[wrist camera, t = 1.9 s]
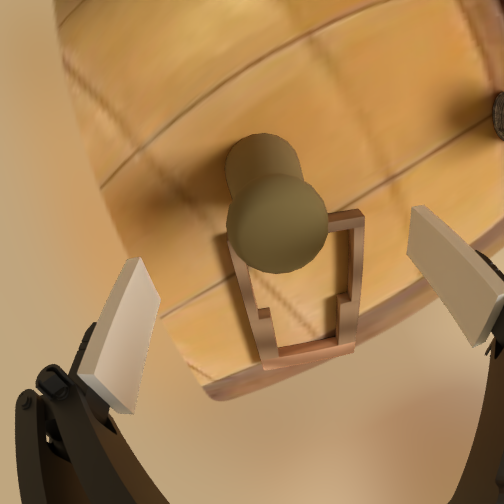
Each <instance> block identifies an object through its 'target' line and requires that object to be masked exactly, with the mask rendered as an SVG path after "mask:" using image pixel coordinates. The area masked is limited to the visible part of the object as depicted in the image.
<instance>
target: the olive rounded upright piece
mask: <svg viewBox="0 0 504 504" xmlns="http://www.w3.org/2000/svg"><path fill="white" fill-rule="evenodd" d="M225 175H226V181H227V184H228V187H229V190H230V193H231V197H232V202H231V204H230V206H229V210H228V215H227V221H226V228H227V234H228V240H229V242H230V244H231V246H232V247H233V249H234V251H235V253H236V254H237V256H238V257H239V258H240V259H241V260H243V261H244V262H245V263H246V264H247V265H249V266H251V267H253V268H255V269H257V270H260V271H262V272H266V273H273V274H280V273H289V272H292V271H294V270H297V269H300V268H302V267H304V266H305V265H306V264H308V263H309V262H311V261H312V260H313V259H314V258H315V256H316V255H317V254H318V253H319V251H320V250H321V249H322V247H323V245H324V243H325V240H326V238H327V235H328V213H327V210H326V207H325V204H324V201H323V200H322V198H321V197H320V196H319V194H318V193H317V192H316V191H315V189H314V188H313V187H312V186H311V185H310V184H308V183H306V182H305V181H304V178H303V174H302V170H301V166H300V162H299V159H298V157H297V154H296V152H295V150H294V149H293V148H292V146H291V145H290V144H289V143H288V142H287V141H285V140H284V139H282V138H280V137H279V136H276V135H272V134H267V133H262V134H253V135H250V136H248V137H246V138H243V139H241V140H240V141H239V142H238V143H237V144H236V145H235V146H233V147H232V149H231V151H230V153H229V154H228V156H227V158H226V164H225Z"/></svg>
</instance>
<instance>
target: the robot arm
mask: <svg viewBox="0 0 504 504" xmlns="http://www.w3.org/2000/svg"><path fill="white" fill-rule="evenodd" d="M407 255H408V256H409V258H410V259H411V260H412V262H413V263H414V264H415V265H416V267H417V268H418V269H419V270H420V272H421V273H422V274H423V276H424V277H425V278H426V280H427V281H428V282H429V284H430V285H431V286H432V288H433V289H434V291H435V292H436V293H437V295H438V296H439V297H440V299H441V300H442V302H443V303H444V305H445V306H446V307H447V309H448V310H449V312H450V313H451V315H452V316H453V318H454V319H455V321H456V322H457V324H458V325H459V327H460V329H461V330H462V332H463V333H464V335H465V336H466V338H467V340H468V341H469V343H470V344H471V346H472V348H474V347H476V346H478V345H480V344H482V343H484V342H486V340H487V338H488V336H489V334H490V332H492V334H493V335H494V338H493V340H492V342H491V344H490V345H489V347H488V349H487V350H486V353H485V355H486V356H487V354H488V353H489V351H490V350H491V355H490V365H489V372H488V379H487V385H486V391H485V396H484V401H483V406H482V411H481V415H480V419H479V423H478V427H477V431H476V434H475V438H474V441H473V445H472V448H471V451H470V454H469V457H468V460H467V463H466V466H465V469H464V471H463V474H462V476H461V479H460V482H459V484H458V486H457V489H456V491H455V493H454V495H453V497H452V499H451V500H450V502H449V503H448V504H504V274H503V273H502V272H501V271H500V270H498V268H497V267H496V266H495V265H494V264H493V263H492V262H491V260H490V259H489V258H488V257H487V256H486V255H484V254H482V253H481V252H479V251H477V250H475V251H474V250H473V249H472V248H471V247H470V246H469V245H468V244H467V243H466V242H465V241H464V240H463V239H462V238H461V237H460V236H459V235H458V234H456V233H455V232H454V231H453V230H452V229H451V228H450V227H449V226H448V225H447V224H445V223H444V222H443V221H442V220H441V219H440V218H439V217H437V216H436V215H435V214H434V213H433V212H432V211H430V210H429V209H428V208H427V207H426V206H424V205H420V206H414V207H412V208H411V220H410V230H409V239H408V247H407ZM160 301H161V299H160V297H159V295H158V293H157V291H156V289H155V287H154V284H153V282H152V280H151V278H150V276H149V274H148V272H147V270H146V267H145V265H144V263H143V261H142V259H141V257H136V258H131V259H127V260H126V263H125V264H124V266H123V268H122V270H121V272H120V274H119V276H118V278H117V280H116V283H115V285H114V287H113V289H112V291H111V293H110V295H109V297H108V299H107V301H106V304H105V306H104V308H103V310H102V312H101V315H100V317H99V319H98V322H93V323H92V325H91V326H90V327H89V328H88V329H87V331H86V332H85V335H84V337H83V339H82V343H81V344H80V346H79V351H77V354H76V356H75V359H74V361H73V364H72V366H71V369H70V371H69V374H68V375H67V374H66V373H65V372H64V371H63V370H62V369H61V368H60V366H58V365H56V364H51V365H48V366H47V367H45V368H44V369H43V370H42V371H41V372H40V373H39V375H38V376H37V380H36V388H37V389H38V390H39V391H40V392H41V393H42V394H43V395H41V396H39V395H38V394H37V393H36V392H35V391H34V390H32V389H27V390H25V391H23V392H22V393H21V394H20V395H19V397H18V399H17V402H16V409H15V444H16V462H17V473H18V482H19V489H20V496H21V501H22V504H170V503H169V502H168V501H167V499H166V498H165V497H164V496H163V495H162V493H161V492H160V491H159V489H158V488H157V487H156V485H155V484H154V483H153V481H152V480H151V478H150V477H149V476H148V474H147V473H146V471H145V470H144V468H143V467H142V465H141V464H140V463H139V461H138V460H137V458H136V456H135V455H134V453H133V452H132V450H131V449H130V447H129V445H128V444H127V442H126V440H125V439H124V437H123V436H122V434H121V432H120V430H119V429H118V427H117V425H116V423H115V421H114V420H113V418H112V417H111V415H110V414H109V408H110V407H111V408H112V409H114V410H115V411H116V412H117V413H120V414H134V412H135V406H136V402H137V397H138V392H139V387H140V383H141V378H142V373H143V369H144V364H145V360H146V356H147V352H148V347H149V343H150V339H151V335H152V331H153V327H154V323H155V320H156V316H157V312H158V309H159V305H160ZM46 435H47V436H48V437H49V443H48V442H47V441H46Z"/></svg>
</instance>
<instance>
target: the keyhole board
mask: <svg viewBox="0 0 504 504" xmlns="http://www.w3.org/2000/svg"><path fill="white" fill-rule="evenodd" d="M364 227H365V216H364V215H363V214H362V212H361V211H360V210H359V209H354V210H348V211H342V212H336V213H330V214H328V233H330V232H335V231H341V230H347V229H349V264H348V292H347V293H342V294H337V310H336V337H331V338H327V339H322V340H317V341H312V342H307V343H302V344H297V345H292V346H286V347H280V348H278V347H277V342H276V337H275V333H274V328H273V323H272V318H271V313H270V308H264V309H258V308H257V304H256V300H255V296H254V292H253V288H252V284H251V280H250V275H249V271H248V267H247V264H246V263H245V262H244V261H243V260H241V259H240V258H239V257H238V256H237V254H236V253H235V251H234V249H233V247H232V246H231V244H230V242H229V240H228V234H227V243H228V247H229V251H230V254H231V258H232V262H233V265H234V269H235V272H236V276H237V279H238V283H239V287H240V290H241V294H242V297H243V301H244V304H245V308H246V311H247V315H248V318H249V321H250V325H251V328H252V332H253V335H254V339H255V342H256V345H257V349H258V352H259V355H260V359H261V362H262V365H263V369H264V370H270V369H276V368H283V367H288V366H294V365H299V364H305V363H310V362H315V361H320V360H324V359H329V358H333V357H338V356H342V355H346V354H350V353H353V352H354V348H355V341H356V333H357V325H358V316H359V307H360V297H361V285H362V271H363V254H364Z"/></svg>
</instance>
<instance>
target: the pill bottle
mask: <svg viewBox="0 0 504 504" xmlns="http://www.w3.org/2000/svg"><path fill="white" fill-rule="evenodd" d="M493 123H494V127H495V130H496V132H497V134H498V136H499V137H500V138H501V139H502V140H503V141H504V92H502V93H500V94H499V95H498V96H497V98H496V100H495V102H494V106H493Z"/></svg>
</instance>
